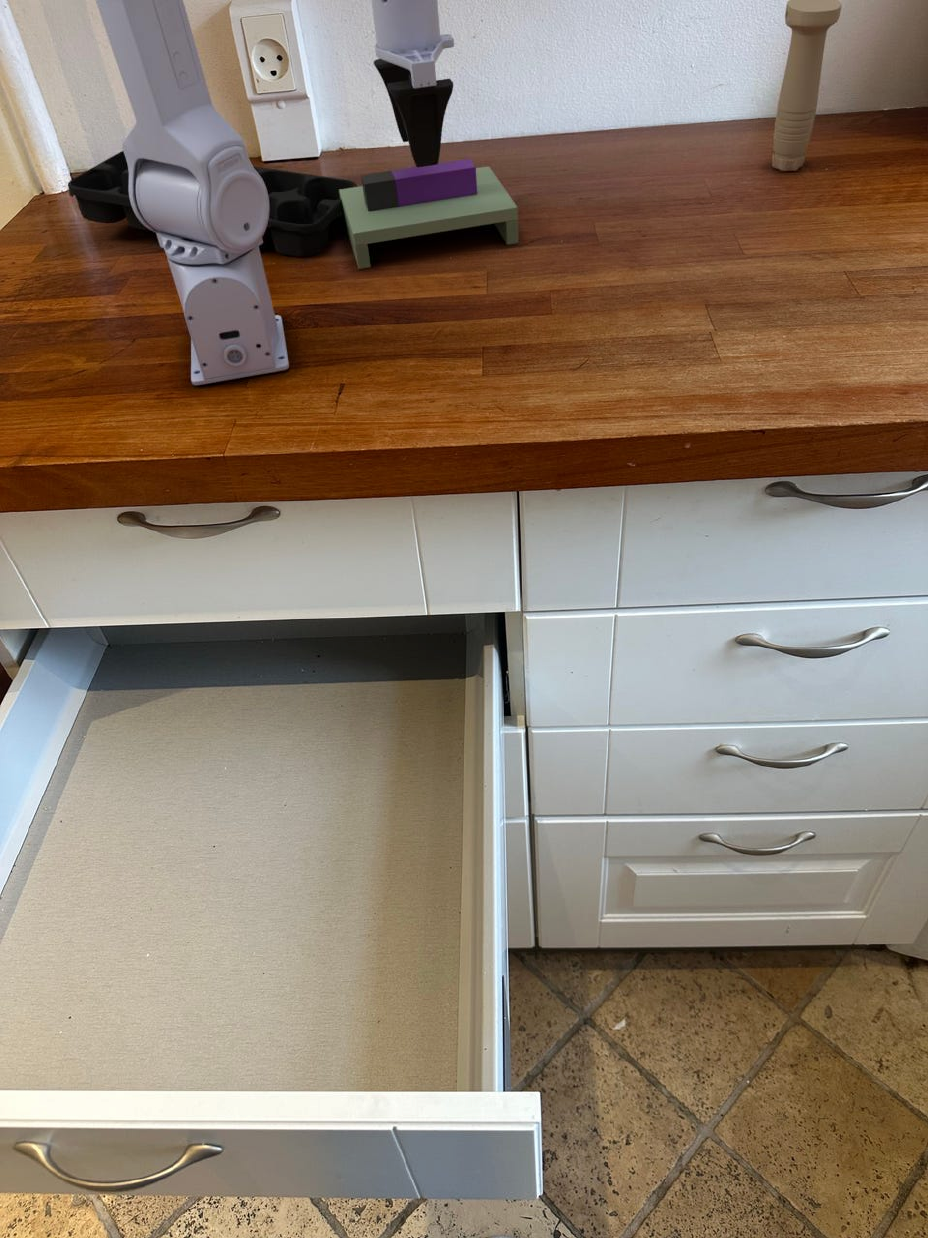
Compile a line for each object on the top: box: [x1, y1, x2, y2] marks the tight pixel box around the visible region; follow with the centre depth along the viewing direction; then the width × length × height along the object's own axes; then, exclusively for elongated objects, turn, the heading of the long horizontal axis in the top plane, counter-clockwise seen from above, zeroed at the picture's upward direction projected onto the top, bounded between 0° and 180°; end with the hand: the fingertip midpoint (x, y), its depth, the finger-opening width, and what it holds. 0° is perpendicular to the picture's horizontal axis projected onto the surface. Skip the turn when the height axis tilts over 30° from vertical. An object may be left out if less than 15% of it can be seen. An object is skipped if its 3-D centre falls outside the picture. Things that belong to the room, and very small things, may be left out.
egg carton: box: [67, 150, 358, 258], centre depth 97 cm, size 18×30×4 cm, turn 84°
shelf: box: [339, 165, 520, 270], centre depth 92 cm, size 12×16×4 cm
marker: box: [360, 158, 477, 211], centre depth 90 cm, size 3×11×3 cm, turn 102°
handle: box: [771, 0, 843, 172], centre depth 94 cm, size 5×6×15 cm
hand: (419, 151), depth 88 cm, fingers open, 7 cm apart
